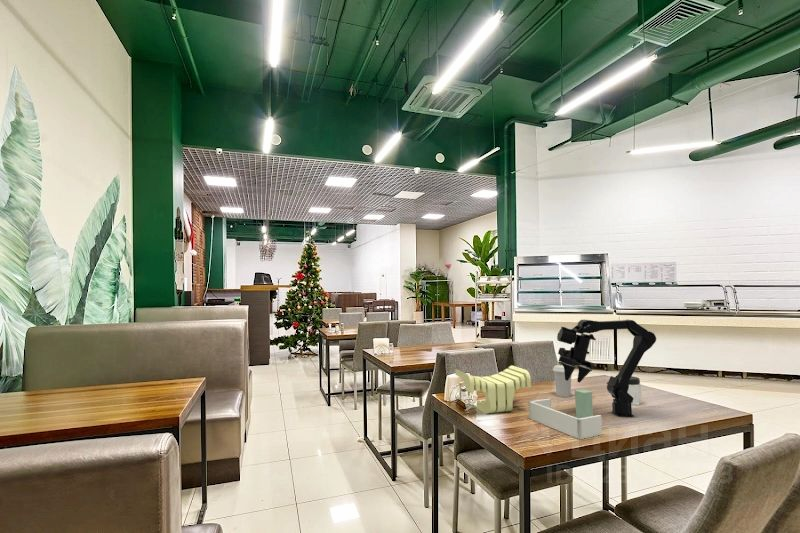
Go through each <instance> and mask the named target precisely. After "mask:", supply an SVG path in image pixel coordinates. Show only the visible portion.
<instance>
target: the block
mask: <svg viewBox="0 0 800 533" xmlns="http://www.w3.org/2000/svg"><path fill="white" fill-rule="evenodd" d="M574 397H575V398H574V401H575V402H574V403H575V404H574V405H575V417H576V418H579V419H580V418H585V417H590V416H594V413H593V410H594V409H593V392H592V391H591V390H587V389H576V390H575V389H574Z"/></svg>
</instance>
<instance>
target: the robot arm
mask: <svg viewBox="0 0 800 533" xmlns="http://www.w3.org/2000/svg"><path fill="white" fill-rule="evenodd" d="M606 330H608V331H609V330H610V331H613V330H627V331H628V333H630V334H631V335H632V336H633V340H632V348H631V351H630V352H629V354H628V355H627V357H626V359H625V360H624V363H623V365H622V366H621V368H620V370H619V372H618V373H617V375H616V376H613V375H611V376H610V377H609V380H608V381H607V382H606V390H607V392H608V393H609V394H610V395H611V397H612V398H613V399H612V402H611V405H612V406H611V407H612V408H611V409H612V410H611V413H613V414H614V415H616V416H617V417H631V418H633V417H635V416H634V414H633V411H632V410H633V409H632V405H631V403H632V402H633V399H634V398H633V397H632V396H631V395H630V394H628V393H627V392H628V389H629V380H630V378H631V376H633V374H634V372H635V371H636V370H637V367H638V365H639V363H640V361H641V359H642V358H643V356H644V354H645V353H646V352H648V350H650V349H651V348H652V347H653V345H654V344H656V342H657V337H656V334H655V333H654V332H652V331H649V330H647V329H646V328H644V327H643V326H642V325H640V324H639V323H637V322H636V321H635V320H633V319H623V320H605V321H604V320H602V321H601V320H600V321H599V320H591V319H580V320H579V321H578V322H577V324H576V325H575V326H573V327H572V328H568V327H565V326H561V328H560V329H559V331H558V332H557V336H556V341H558V342H560V343H564V344H568V345H572V344H574V345H573V346H571V347H570V349H566V348H565V347H559V350H558V353H557V354H558V355H559V358H558V362H560V365H563V367H564V372H565V380H567V381H568V380H569V378H570V376H571V377H572V374H573V372H574V371H575V369H576V365H577V369H578V374H577V381H576V382H577V383H582V381H583V380H584V379H585V378H586V377H587V375H588V374H590V373H591V372H592V371H593V370H595V367H596V364H595V363H594V362H592V361H589V360H587V356H588V355H590V351H589V346H590V342H591V341H596V340H597V339H596V337H594V334H593V333H597V332H600V331H606Z"/></svg>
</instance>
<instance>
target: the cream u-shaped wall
mask: <svg viewBox="0 0 800 533" xmlns="http://www.w3.org/2000/svg"><path fill="white" fill-rule="evenodd" d="M602 417H603V416H602V415H601V414H597V415H593V416H590V417H585V418H580V419H579V418H576V416H572V415H569V414H568V413H565V412H562V411H559V410H556V409H553V408H552V398H545V399H543V398H542V399H537V400H530V401H528V418H529V419H530V420H533V421H535V422H537V423H539V424H541V425H543V426H546V427H549V428H552V429H554V430H557V431H559V432H561V433H563V434H566V435H568V436H571V437H573V438H575V439H577V438H578V440H584V438H585V439H589V438H594V437H598V435H599V436H602V435H603V421H602V420H603V419H602ZM593 436H594V437H593Z"/></svg>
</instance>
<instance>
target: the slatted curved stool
mask: <svg viewBox="0 0 800 533" xmlns="http://www.w3.org/2000/svg"><path fill="white" fill-rule="evenodd" d="M455 376H457V377H459V378H460V379H461V380H462V381H463V383H464V385H465V391H466V392H468V393H469V394H471V393H475V392H482V393H483V396H484V398H485V400H476V401H477V408H476V409H477V410H479V411H480V412H482V413H484V414H493V413H503V412H513V410H514V408H513V402H514V397H515V393H516V392H517V391H518V390H519V389H521V388H522V389H523V388H529V389H531V388H532V379H531V374H530V372H529V371H528V370H527V369H525V368H522V367H518V366H515V365H510V366H508V367H507V368H505V369H504V370H503V371H499V372H498V374H497V373H495V374H492V375H489V376H488V375H487V376H486V375H485V376H477V375H476V376H475V375H471V374H468V373H465V372H464V371H461V370H459V369H457V368H455ZM515 391H516V392H515Z"/></svg>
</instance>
